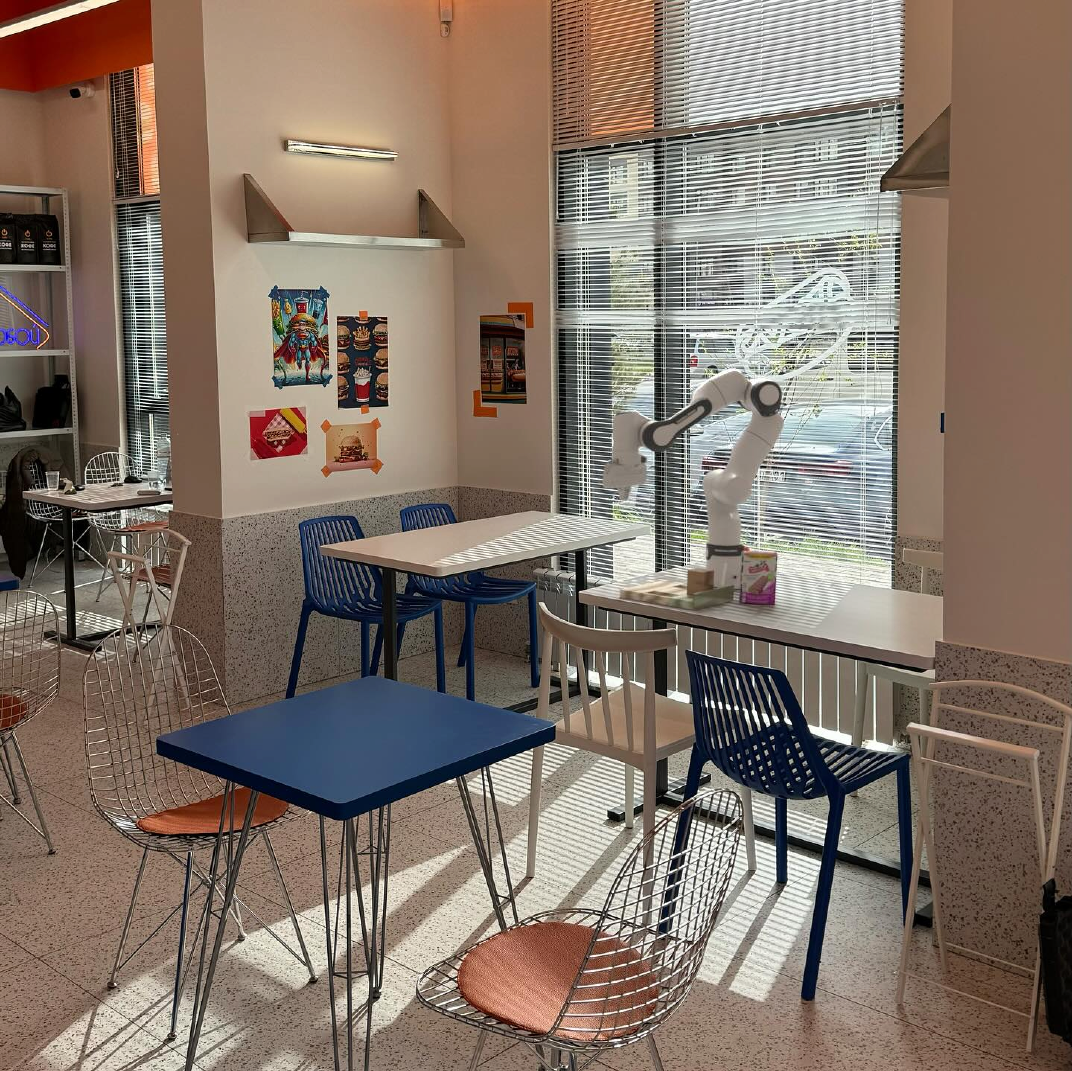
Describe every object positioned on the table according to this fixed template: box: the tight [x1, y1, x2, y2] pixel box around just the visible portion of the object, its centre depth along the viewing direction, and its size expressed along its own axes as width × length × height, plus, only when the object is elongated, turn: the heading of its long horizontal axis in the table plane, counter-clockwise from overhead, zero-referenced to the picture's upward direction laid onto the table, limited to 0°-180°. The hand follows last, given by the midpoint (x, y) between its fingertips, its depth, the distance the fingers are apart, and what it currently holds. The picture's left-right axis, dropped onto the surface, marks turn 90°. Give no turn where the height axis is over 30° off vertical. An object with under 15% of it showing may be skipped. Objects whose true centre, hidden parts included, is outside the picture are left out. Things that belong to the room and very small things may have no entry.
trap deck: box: [619, 580, 735, 611], centre depth 400 cm, size 29×22×5 cm
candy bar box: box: [738, 550, 779, 606], centre depth 394 cm, size 11×5×16 cm, turn 84°
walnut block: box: [686, 567, 715, 596], centre depth 393 cm, size 6×6×8 cm
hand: (624, 499), depth 418 cm, fingers closed
